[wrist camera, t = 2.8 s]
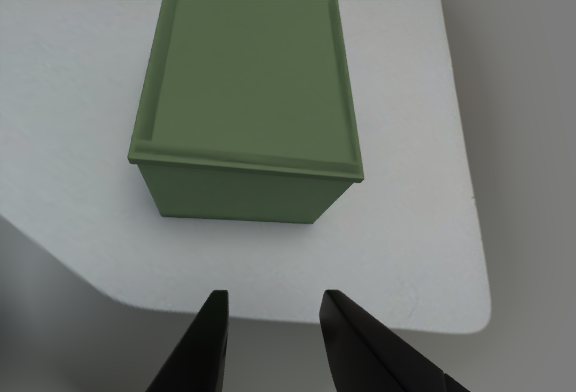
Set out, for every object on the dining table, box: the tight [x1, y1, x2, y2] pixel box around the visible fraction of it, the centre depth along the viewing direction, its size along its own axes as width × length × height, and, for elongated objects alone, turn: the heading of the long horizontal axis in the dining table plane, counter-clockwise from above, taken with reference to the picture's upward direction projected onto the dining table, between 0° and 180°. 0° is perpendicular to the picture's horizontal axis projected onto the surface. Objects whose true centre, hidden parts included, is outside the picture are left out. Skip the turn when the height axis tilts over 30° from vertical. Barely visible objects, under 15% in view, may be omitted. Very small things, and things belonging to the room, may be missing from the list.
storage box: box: [127, 0, 364, 224], centre depth 22 cm, size 16×12×9 cm
